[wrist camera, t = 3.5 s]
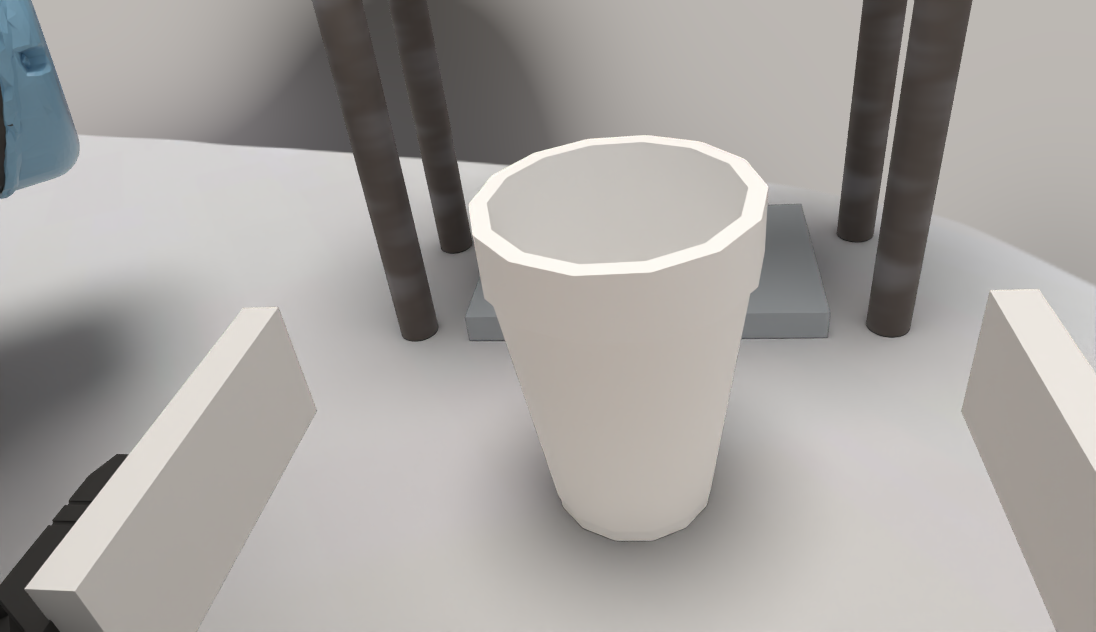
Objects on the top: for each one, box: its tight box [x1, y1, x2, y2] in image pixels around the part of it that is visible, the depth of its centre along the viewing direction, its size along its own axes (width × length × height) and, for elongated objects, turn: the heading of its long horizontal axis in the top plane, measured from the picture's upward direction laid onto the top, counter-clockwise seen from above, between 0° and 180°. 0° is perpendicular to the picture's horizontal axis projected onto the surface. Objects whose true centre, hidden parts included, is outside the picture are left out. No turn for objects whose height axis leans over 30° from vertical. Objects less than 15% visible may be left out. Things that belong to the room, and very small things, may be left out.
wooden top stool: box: [312, 0, 972, 341], centre depth 37 cm, size 26×11×27 cm, turn 83°
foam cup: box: [469, 135, 768, 541], centre depth 29 cm, size 10×9×13 cm
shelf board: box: [465, 204, 830, 340], centre depth 44 cm, size 18×11×2 cm, turn 83°
